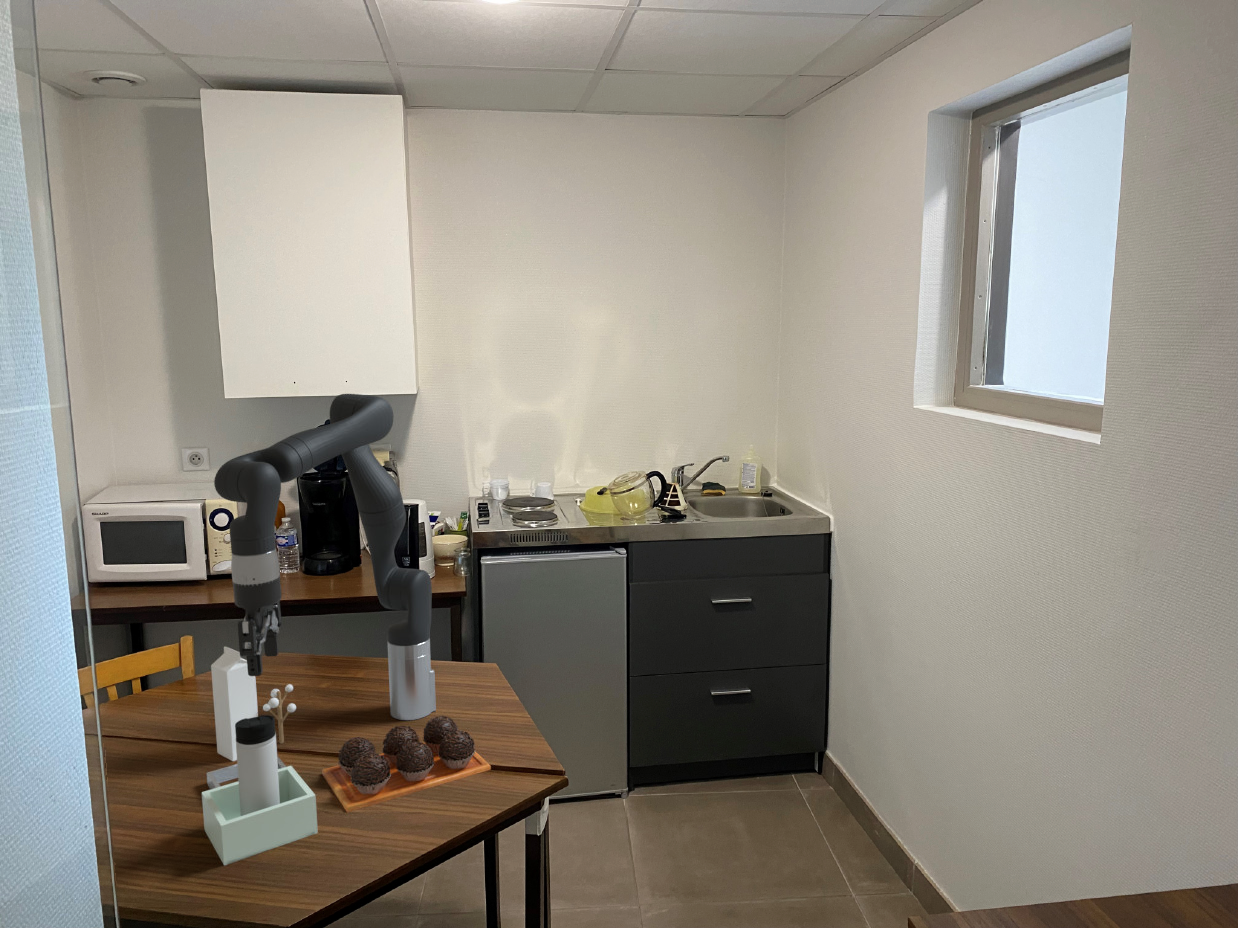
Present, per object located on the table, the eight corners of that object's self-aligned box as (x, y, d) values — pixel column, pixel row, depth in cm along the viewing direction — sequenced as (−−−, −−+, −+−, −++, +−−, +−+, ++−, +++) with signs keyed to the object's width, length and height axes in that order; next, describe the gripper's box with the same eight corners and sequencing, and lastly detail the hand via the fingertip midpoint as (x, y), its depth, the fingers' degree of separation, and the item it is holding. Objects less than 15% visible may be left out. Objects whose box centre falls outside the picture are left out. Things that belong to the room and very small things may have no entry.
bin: (293, 802, 158) (291, 765, 157) (317, 834, 148) (315, 795, 147) (204, 831, 149) (201, 792, 148) (224, 867, 139) (221, 825, 138)
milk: (244, 742, 182) (238, 641, 178) (260, 750, 178) (254, 647, 175) (216, 753, 177) (209, 649, 174) (232, 762, 173) (225, 656, 170)
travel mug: (244, 843, 144) (236, 729, 141) (239, 823, 150) (232, 714, 147) (284, 832, 147) (277, 721, 144) (278, 813, 153) (271, 706, 150)
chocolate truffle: (457, 739, 184) (456, 702, 182) (490, 772, 170) (489, 732, 169) (322, 777, 168) (320, 736, 167) (347, 816, 155) (345, 772, 153)
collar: (275, 764, 172) (275, 752, 172) (294, 788, 163) (294, 776, 163) (207, 784, 164) (206, 772, 164) (223, 811, 155) (222, 798, 155)
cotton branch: (298, 747, 179) (294, 692, 177) (264, 752, 177) (260, 696, 175) (299, 732, 186) (296, 679, 184) (266, 736, 184) (263, 682, 182)
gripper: (264, 588, 142) (272, 681, 145) (291, 563, 156) (298, 648, 159) (217, 589, 141) (226, 683, 144) (248, 564, 155) (256, 649, 158)
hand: (264, 664), depth 151 cm, fingers open, 8 cm apart
